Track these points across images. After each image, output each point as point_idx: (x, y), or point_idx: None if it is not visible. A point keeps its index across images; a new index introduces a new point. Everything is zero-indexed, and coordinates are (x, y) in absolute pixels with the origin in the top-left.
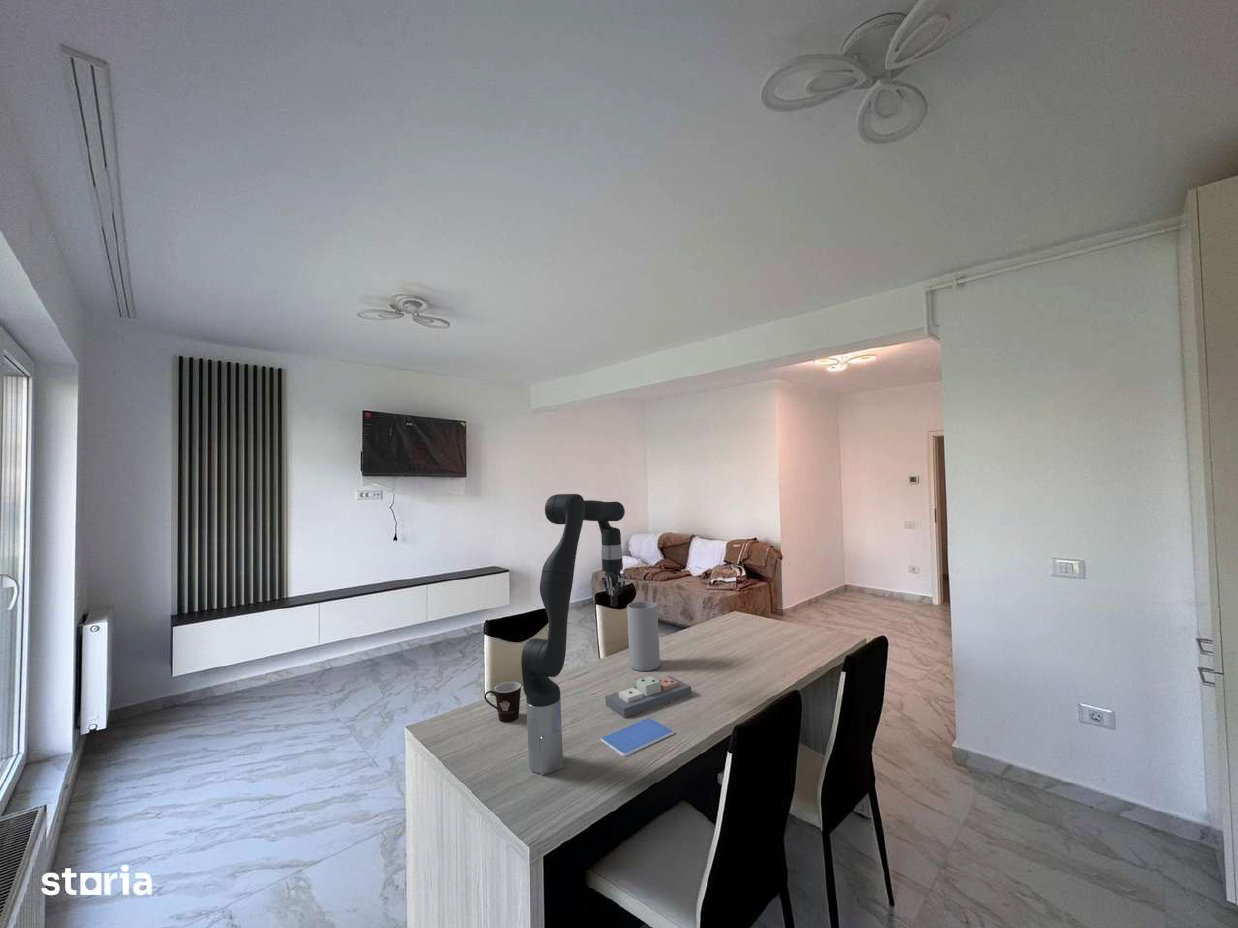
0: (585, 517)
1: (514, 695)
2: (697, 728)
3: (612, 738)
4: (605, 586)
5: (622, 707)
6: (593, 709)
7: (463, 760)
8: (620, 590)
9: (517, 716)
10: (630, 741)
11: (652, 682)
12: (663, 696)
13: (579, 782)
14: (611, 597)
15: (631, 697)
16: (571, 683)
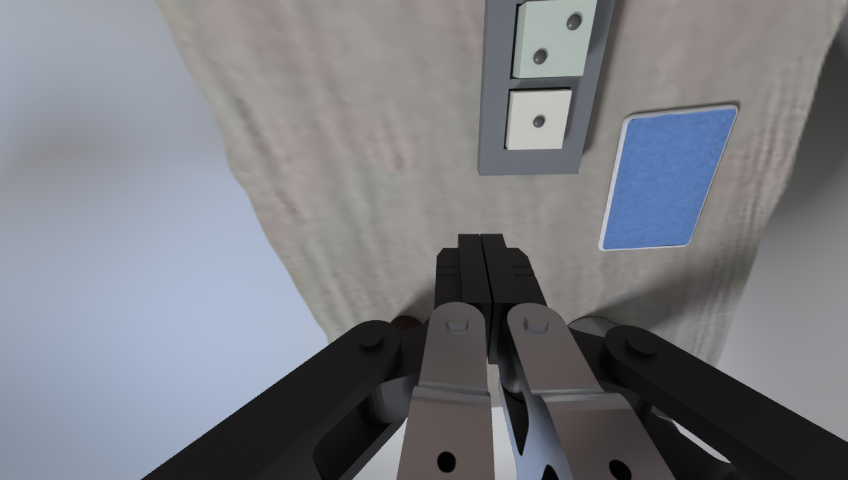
0: None
1: None
2: (786, 28)
3: (624, 234)
4: (322, 476)
5: (569, 173)
6: (478, 202)
7: (491, 393)
8: (710, 402)
9: (419, 323)
10: (666, 213)
11: (579, 34)
12: (610, 16)
13: (670, 321)
14: (488, 346)
15: (563, 135)
16: (305, 179)
